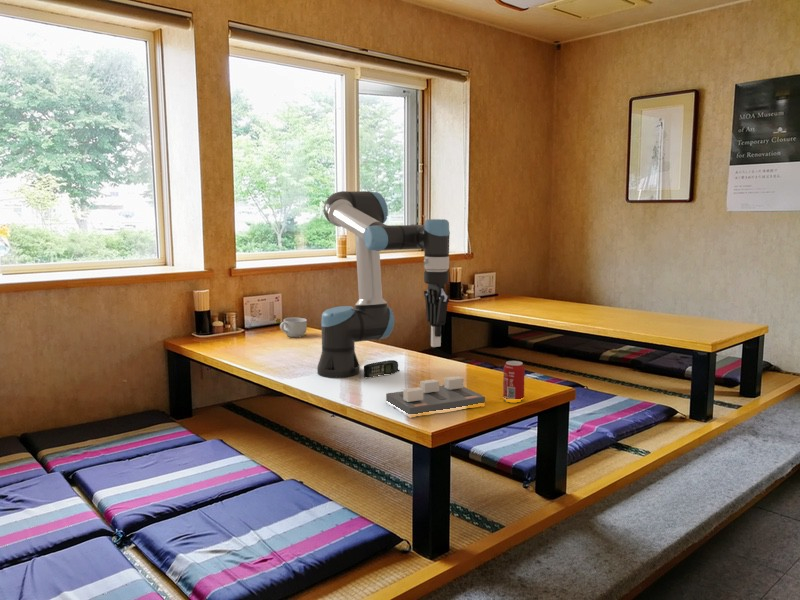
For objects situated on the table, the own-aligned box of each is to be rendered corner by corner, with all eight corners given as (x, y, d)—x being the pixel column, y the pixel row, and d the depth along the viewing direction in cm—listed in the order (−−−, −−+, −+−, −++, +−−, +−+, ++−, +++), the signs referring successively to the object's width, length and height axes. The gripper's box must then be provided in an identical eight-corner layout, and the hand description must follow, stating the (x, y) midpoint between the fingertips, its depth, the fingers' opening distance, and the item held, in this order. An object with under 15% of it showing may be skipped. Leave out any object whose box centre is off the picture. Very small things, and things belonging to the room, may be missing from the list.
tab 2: (420, 390, 197) (420, 381, 197) (434, 388, 199) (434, 379, 199) (424, 393, 194) (424, 383, 194) (439, 391, 197) (439, 381, 196)
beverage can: (527, 400, 198) (528, 362, 197) (516, 405, 194) (517, 366, 192) (510, 396, 202) (511, 359, 201) (498, 401, 198) (499, 362, 196)
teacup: (299, 333, 306) (299, 316, 305) (311, 336, 298) (311, 319, 297) (273, 336, 297) (272, 319, 296) (285, 340, 289) (284, 322, 288)
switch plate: (386, 403, 196) (386, 393, 195) (457, 392, 207) (457, 383, 206) (409, 418, 182) (409, 407, 181) (484, 406, 192) (485, 396, 192)
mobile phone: (366, 365, 223) (402, 359, 232) (361, 364, 226) (397, 357, 234) (366, 379, 224) (402, 372, 232) (362, 378, 227) (397, 370, 235)
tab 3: (444, 387, 201) (444, 377, 200) (458, 385, 203) (458, 376, 202) (449, 389, 198) (449, 380, 198) (463, 387, 200) (463, 378, 200)
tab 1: (403, 399, 188) (403, 389, 188) (418, 397, 190) (418, 387, 190) (407, 401, 186) (407, 391, 185) (423, 399, 188) (423, 389, 187)
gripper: (416, 268, 201) (415, 343, 204) (435, 272, 189) (434, 351, 193) (437, 267, 204) (437, 341, 207) (457, 271, 192) (456, 349, 196)
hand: (435, 346), depth 200 cm, fingers closed
